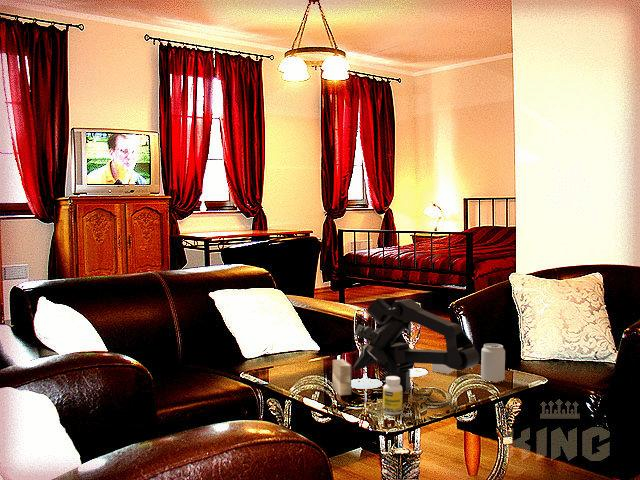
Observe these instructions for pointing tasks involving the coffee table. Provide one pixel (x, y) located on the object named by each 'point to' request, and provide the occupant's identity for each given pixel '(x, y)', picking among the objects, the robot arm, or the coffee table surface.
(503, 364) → the can
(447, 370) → the white cube
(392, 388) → the supplement bottle
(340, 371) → the tile
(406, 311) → the robot arm
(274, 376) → the coffee table surface
